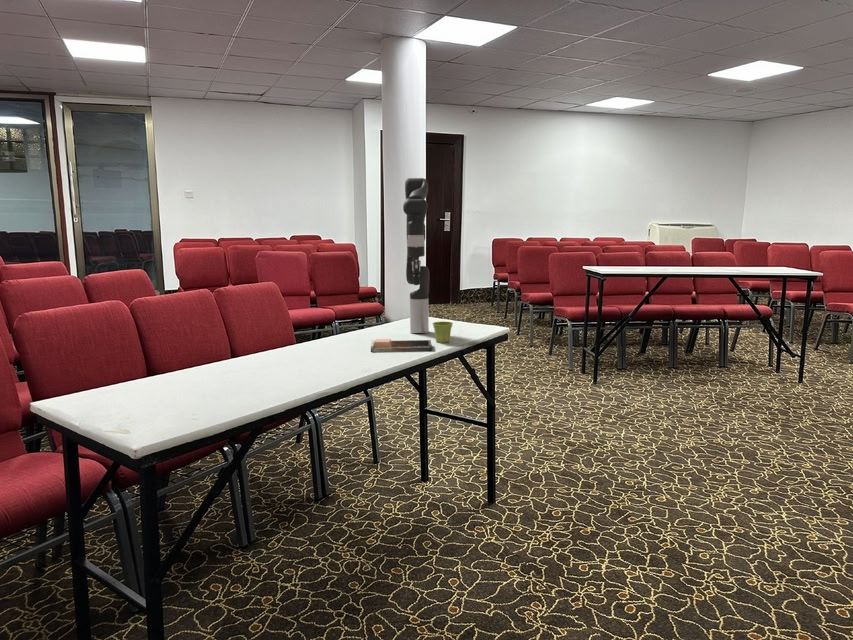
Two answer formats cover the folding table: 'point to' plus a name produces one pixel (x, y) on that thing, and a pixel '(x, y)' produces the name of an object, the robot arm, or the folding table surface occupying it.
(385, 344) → the block
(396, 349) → the trap track
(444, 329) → the plant pot
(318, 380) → the folding table surface
